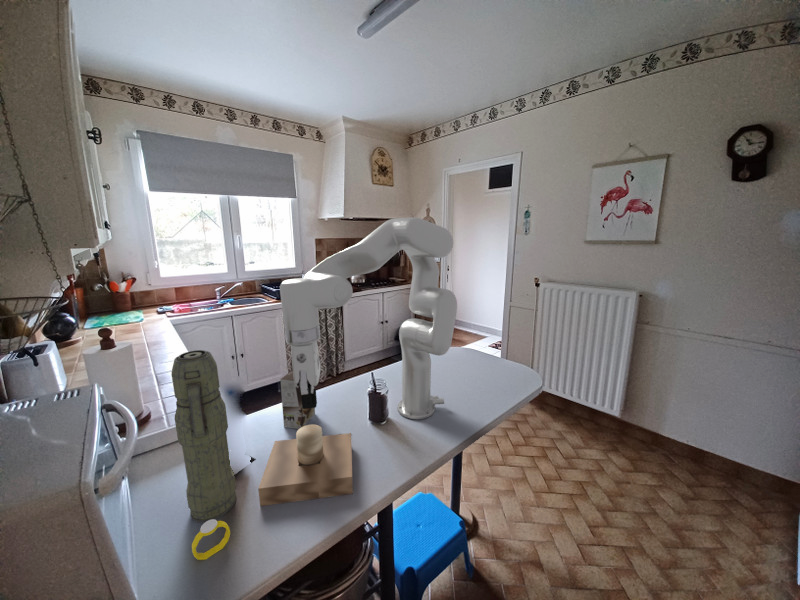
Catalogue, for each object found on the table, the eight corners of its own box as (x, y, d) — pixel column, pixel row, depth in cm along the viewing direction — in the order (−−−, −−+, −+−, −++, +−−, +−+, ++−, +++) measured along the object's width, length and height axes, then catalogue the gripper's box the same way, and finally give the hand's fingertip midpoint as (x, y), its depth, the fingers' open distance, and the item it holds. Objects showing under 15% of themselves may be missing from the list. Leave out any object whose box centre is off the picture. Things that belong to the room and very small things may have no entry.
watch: (198, 569, 55) (190, 544, 53) (193, 558, 57) (186, 533, 55) (234, 544, 59) (228, 519, 57) (228, 534, 61) (223, 510, 59)
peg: (325, 461, 80) (323, 423, 78) (323, 479, 74) (321, 438, 72) (300, 464, 79) (297, 425, 77) (297, 482, 73) (293, 441, 71)
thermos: (191, 537, 60) (163, 370, 53) (189, 496, 70) (165, 350, 63) (241, 514, 65) (222, 359, 58) (233, 479, 75) (215, 342, 68)
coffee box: (302, 430, 94) (298, 381, 91) (283, 427, 95) (279, 379, 92) (316, 413, 103) (313, 368, 99) (298, 411, 104) (295, 366, 101)
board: (351, 447, 86) (351, 433, 85) (352, 493, 71) (352, 476, 70) (276, 455, 83) (274, 441, 82) (260, 506, 67) (258, 488, 66)
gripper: (316, 343, 63) (323, 423, 67) (322, 322, 77) (327, 389, 81) (278, 347, 62) (287, 427, 66) (291, 324, 76) (298, 392, 80)
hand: (309, 406), depth 74 cm, fingers closed
